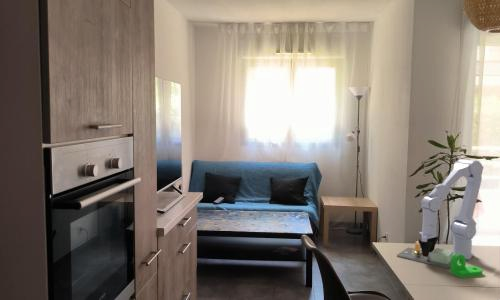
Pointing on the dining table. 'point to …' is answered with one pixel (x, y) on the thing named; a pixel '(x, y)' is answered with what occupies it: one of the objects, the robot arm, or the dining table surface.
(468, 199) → the robot arm
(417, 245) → the t key
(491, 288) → the dining table surface
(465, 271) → the mechanical part
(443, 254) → the cover
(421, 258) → the latch plate
